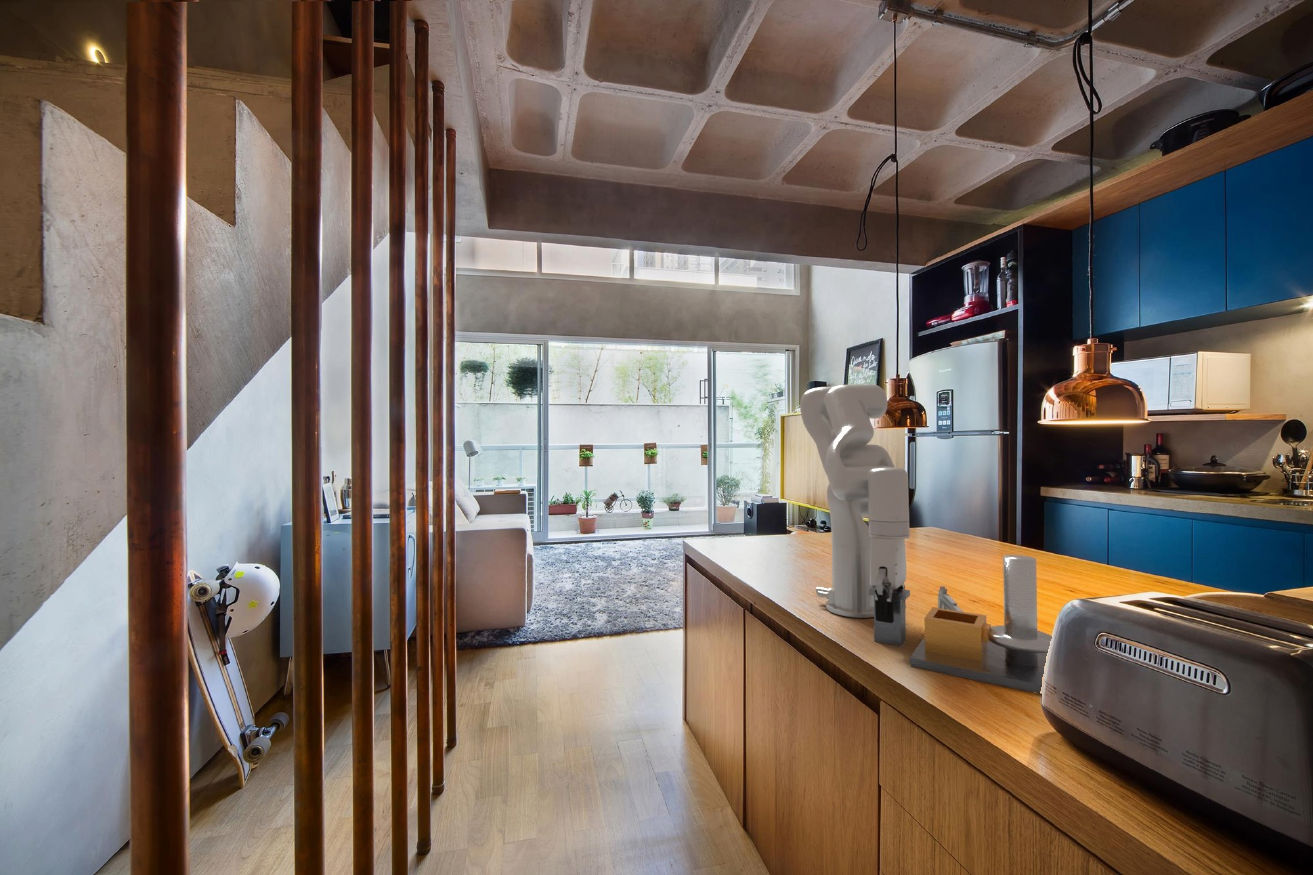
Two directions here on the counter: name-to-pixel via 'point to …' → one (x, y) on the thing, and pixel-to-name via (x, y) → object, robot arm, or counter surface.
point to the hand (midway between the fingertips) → (891, 615)
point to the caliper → (946, 600)
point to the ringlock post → (991, 636)
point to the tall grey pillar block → (897, 629)
